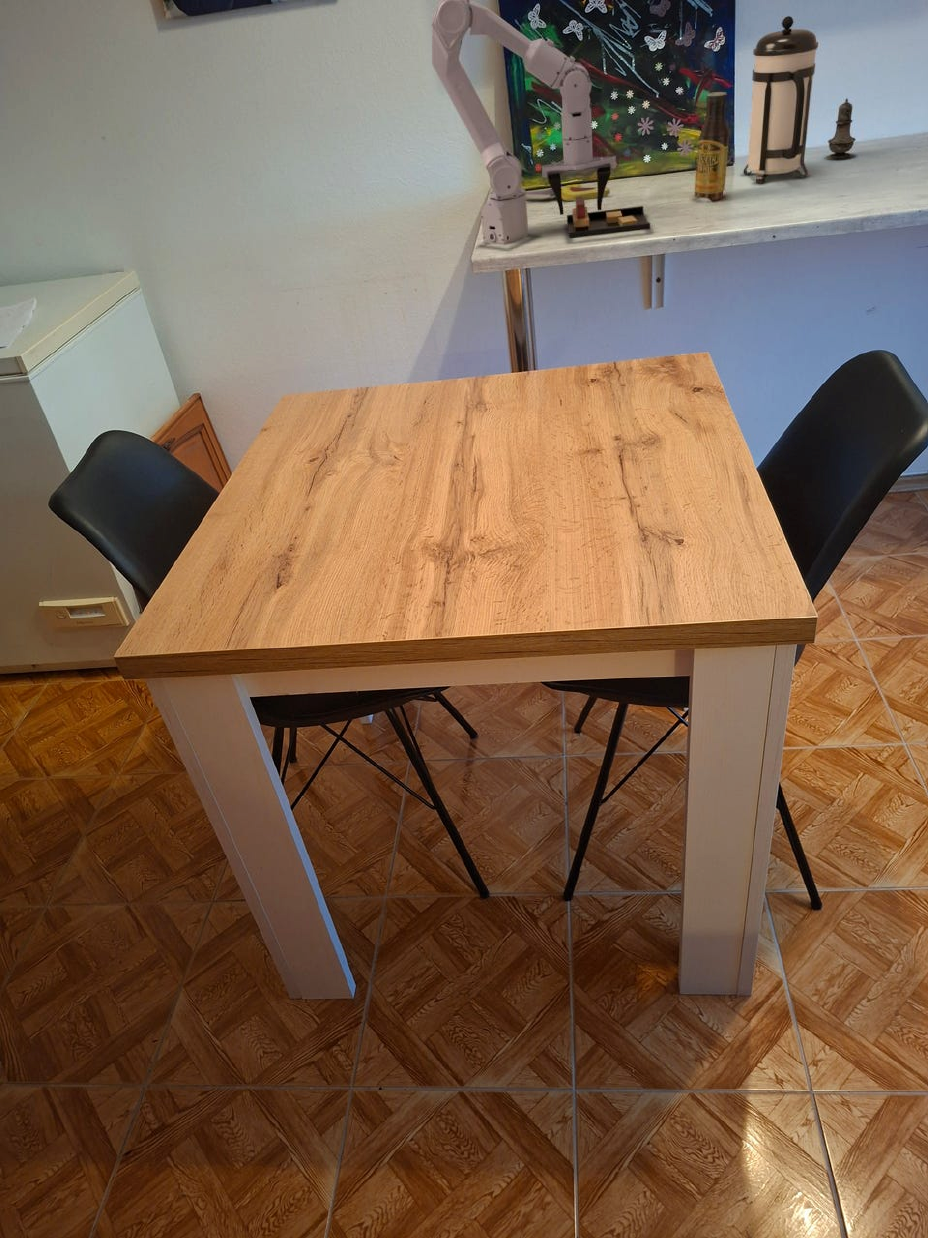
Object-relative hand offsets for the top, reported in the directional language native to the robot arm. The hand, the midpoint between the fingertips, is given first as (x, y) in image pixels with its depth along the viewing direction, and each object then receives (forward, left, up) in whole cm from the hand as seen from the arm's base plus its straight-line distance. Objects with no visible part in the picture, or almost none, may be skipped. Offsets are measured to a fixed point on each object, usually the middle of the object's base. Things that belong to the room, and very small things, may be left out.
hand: (580, 210), depth 179 cm
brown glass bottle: (+29, -12, -4) cm, 32 cm away
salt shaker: (+68, -22, -4) cm, 72 cm away
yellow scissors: (+20, +23, -4) cm, 31 cm away
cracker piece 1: (+6, -4, -3) cm, 8 cm away
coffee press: (+49, -17, -4) cm, 53 cm away
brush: (0, 0, -3) cm, 3 cm away
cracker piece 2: (+4, -9, -3) cm, 10 cm away
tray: (+3, -4, -4) cm, 7 cm away
